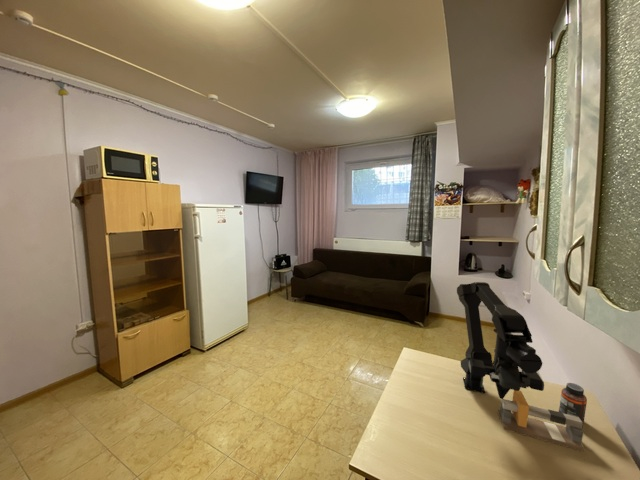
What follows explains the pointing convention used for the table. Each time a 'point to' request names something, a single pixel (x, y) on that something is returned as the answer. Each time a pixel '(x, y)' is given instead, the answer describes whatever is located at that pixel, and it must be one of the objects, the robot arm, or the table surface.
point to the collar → (521, 408)
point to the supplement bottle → (573, 401)
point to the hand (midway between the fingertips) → (500, 397)
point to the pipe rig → (544, 425)
